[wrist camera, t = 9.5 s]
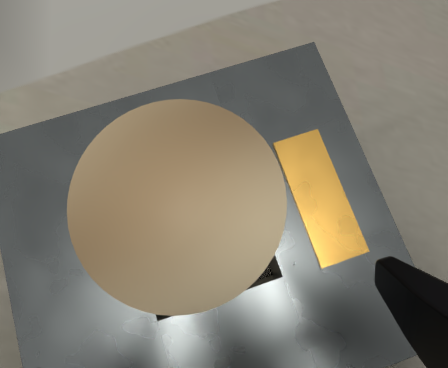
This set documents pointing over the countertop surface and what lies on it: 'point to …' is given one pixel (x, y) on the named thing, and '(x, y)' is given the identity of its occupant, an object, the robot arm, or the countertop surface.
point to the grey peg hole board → (255, 294)
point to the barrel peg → (176, 207)
